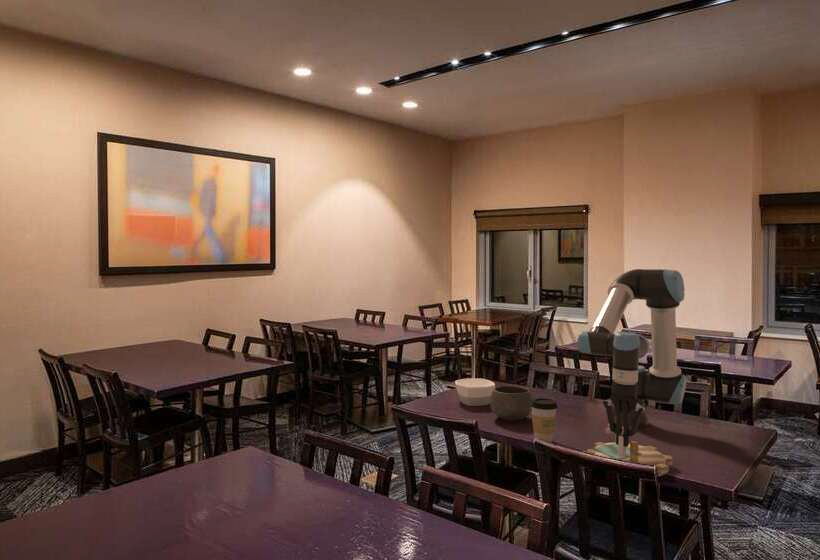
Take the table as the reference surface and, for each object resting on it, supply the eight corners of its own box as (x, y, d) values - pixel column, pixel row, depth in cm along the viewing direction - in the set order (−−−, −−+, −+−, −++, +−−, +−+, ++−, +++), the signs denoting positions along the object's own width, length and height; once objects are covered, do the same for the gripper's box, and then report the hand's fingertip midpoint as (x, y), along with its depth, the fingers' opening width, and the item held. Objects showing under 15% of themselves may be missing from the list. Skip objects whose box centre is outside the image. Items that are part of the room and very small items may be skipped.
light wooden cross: (614, 449, 198) (615, 421, 198) (597, 440, 208) (598, 413, 208) (638, 446, 201) (639, 419, 201) (621, 437, 211) (621, 411, 210)
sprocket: (584, 443, 200) (585, 418, 200) (662, 449, 194) (663, 424, 194) (591, 471, 175) (591, 442, 174) (681, 479, 169) (682, 449, 169)
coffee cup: (557, 446, 201) (558, 405, 200) (529, 444, 203) (530, 403, 202) (556, 437, 210) (557, 398, 210) (529, 435, 212) (530, 396, 212)
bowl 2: (480, 418, 235) (481, 388, 234) (508, 410, 247) (508, 381, 246) (515, 428, 221) (515, 396, 221) (541, 419, 233) (542, 389, 233)
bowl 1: (449, 399, 265) (449, 379, 265) (484, 396, 270) (484, 377, 270) (464, 409, 248) (464, 388, 248) (500, 406, 253) (501, 385, 253)
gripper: (599, 380, 178) (597, 453, 179) (641, 387, 169) (637, 464, 170) (609, 376, 183) (607, 447, 184) (650, 383, 174) (647, 458, 176)
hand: (621, 455), depth 177 cm, fingers closed
